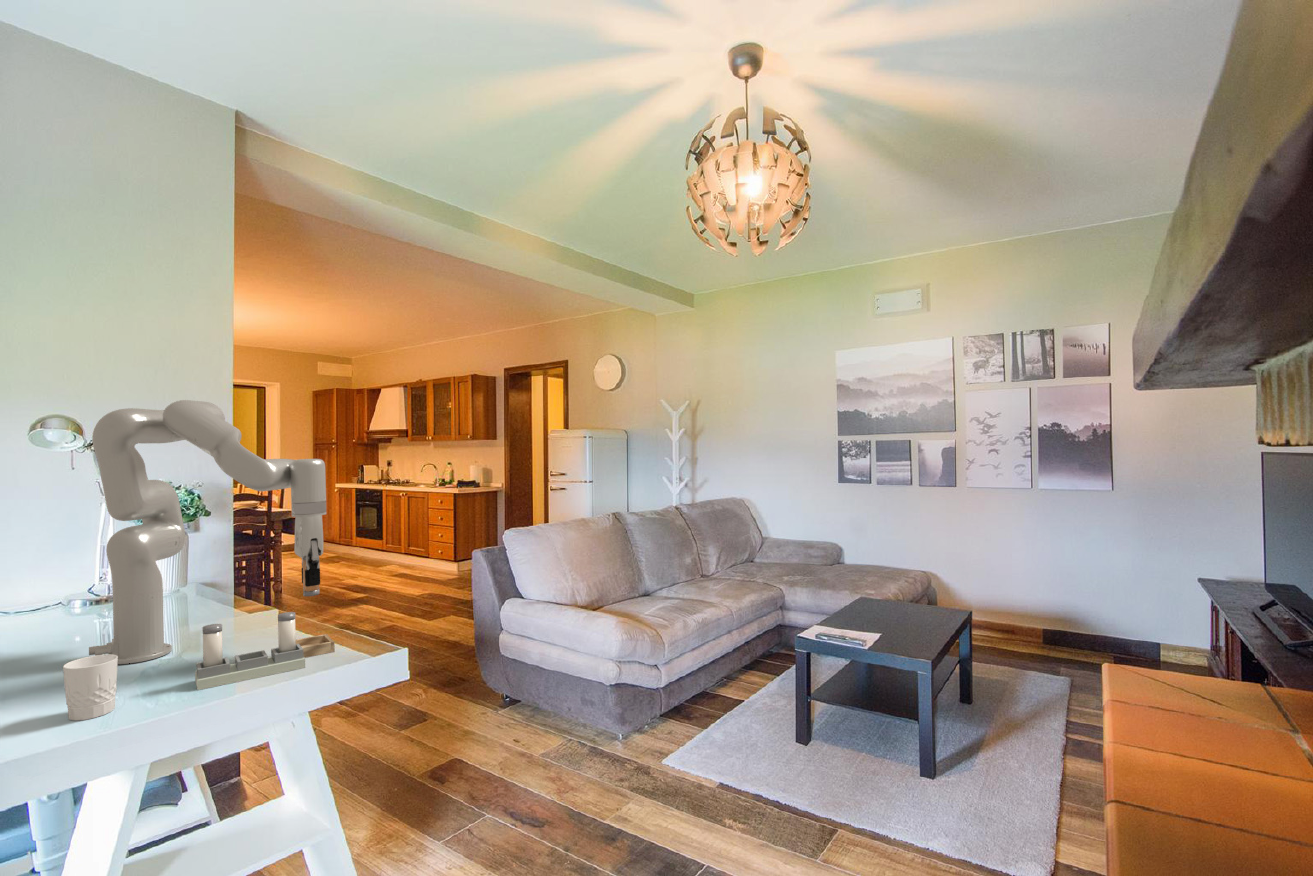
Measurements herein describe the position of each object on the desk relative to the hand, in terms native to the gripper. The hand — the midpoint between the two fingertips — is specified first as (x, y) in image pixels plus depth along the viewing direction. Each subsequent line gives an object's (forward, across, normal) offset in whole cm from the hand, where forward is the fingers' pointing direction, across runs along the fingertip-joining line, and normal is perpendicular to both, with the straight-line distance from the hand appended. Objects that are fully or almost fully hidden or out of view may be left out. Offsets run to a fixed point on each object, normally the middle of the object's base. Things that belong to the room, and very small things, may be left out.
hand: (311, 583), depth 158 cm
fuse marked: (+3, 0, 0) cm, 3 cm away
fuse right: (+15, +8, -7) cm, 18 cm away
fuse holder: (+17, +8, -14) cm, 23 cm away
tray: (+17, 0, 0) cm, 17 cm away
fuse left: (+15, +8, -21) cm, 27 cm away
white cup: (+17, +12, -40) cm, 45 cm away
